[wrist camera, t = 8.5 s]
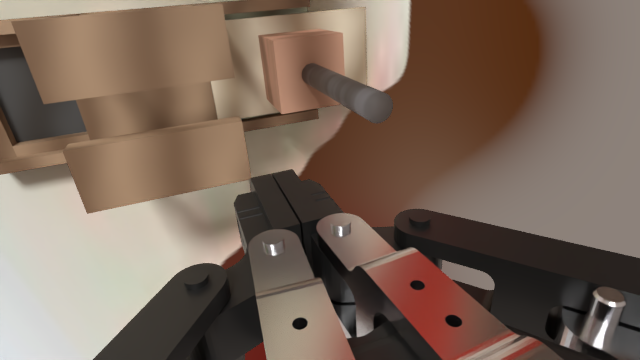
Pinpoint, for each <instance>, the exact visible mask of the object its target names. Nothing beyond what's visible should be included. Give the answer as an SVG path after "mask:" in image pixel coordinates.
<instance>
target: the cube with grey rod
mask: <svg viewBox="0 0 640 360" xmlns="http://www.w3.org/2000/svg"><path fill="white" fill-rule="evenodd" d="M225 22H226V28H227V34H228V40H229V46H230V52H231V58H232V64H233V70H234V76H235V78H231V79H224V80H217V81H210V83H211V88H212V93H213V98H214V103H215V108H216V113H217V118H218V119H223V118H229V117H235V116H239V117H240V119H241V118H247V117H253V116H259V115H265V114H271V113H277V112H280V113H281V114H286V113H292V112H298V111H304V110H310V109H316V108H322V107H328V106H334V105H340V104H342V105H343V106H345V107H347V108H348V109H350V110H352V111H354V112H355V113H357V114H359V115H360V116H362V117H364V118H365V119H367V120H369V121H370V122H372V123H381V122H383V121H385V120H386V119H387V118H388V117H389V116H390V114H391V112H392V109H393V102H392V99H391V97H390V96H389V95H388V94H386V93H384V92H381V91H379V90H377V89H374V88H372V87H369V86H367V60H366V7H357V8H347V9H336V10H326V11H315V12H305V13H295V14H284V15H274V16H263V17H253V18H242V19H232V20H225Z"/></svg>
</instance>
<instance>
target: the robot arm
mask: <svg viewBox="0 0 640 360" xmlns="http://www.w3.org/2000/svg"><path fill="white" fill-rule="evenodd" d="M250 188H251V192H250V193H245V194H241V195H238V196H237V198H236V200H235V202H234V207H235V212H236V217H237V222H238V227H239V233H240V238H241V242H242V246H243V249H244V252H245V256H244V257H243V258H242V259H241V260H240V261H239V262H238V263H236V264H235V265H234V266H232V267H230V268H228V269H226V270H224V269H223V268H222V267H221V266H219V265H217V264H212V263H203V264H197V265H193V266H190V267H188V268H186V269H184V270H182V271H180V272H179V273H177V274H176V275H175V276H174V277H173V278H172V279H171V280H170V281H169V282H168V283H167V284H166V285H165V286H164V287H163V288H162V289H161V290H160V291H159V292H158V293H157V294H156V295H155V296H154V297H153V298H152V299H151V300H150V301H149V302H148V304H147V305H146V306H145V307H144V308H143V309H142V310H141V311H140V312H139V313H138V314H137V315H136V316H135V317H134V318H133V319H132V320H131V321H130V322H129V323H128V324H127V325H126V326H125V327H124V328H123V329H122V330H121V331H120V332H119V333H118V334H117V335H116V336H115V337H114V338H113V340H112V341H111V342H110V343H109V344H108V345H107V346H106V347H105V348H104V349H103V350H102V351H101V352H100V353H99V354H98V355H97V356H96V357H95V358H94V359H93V360H245V353H247V352H248V351H250V350H251V349H253V348H254V347H256V346H257V345H259V344H260V343H262V342H263V341H264V346H265V352H266V358H267V360H640V258H636V257H632V256H627V255H623V254H618V253H614V252H610V251H605V250H601V249H596V248H592V247H587V246H583V245H579V244H574V243H570V242H565V241H561V240H557V239H552V238H548V237H543V236H539V235H535V234H531V233H526V232H522V231H517V230H513V229H508V228H504V227H499V226H495V225H491V224H486V223H482V222H478V221H473V220H469V219H465V218H460V217H455V216H451V215H447V214H442V213H438V212H433V211H429V210H424V209H410V210H406V211H403V212H400V213H399V214H398V215H397V216H396V217H395V219H394V227H370V226H369V225H368V224H367V223H366V222H365V221H363V220H362V219H361V218H360V217H358V216H356V215H352V214H347V213H343V211H342V210H341V209H340V208H339V207H338V205H337V204H336V203H335V202H334V200H333V199H332V198H330V196H329V194H328V193H327V192H326V191H325V190H324V188H323V187H322V186H321V185H320V184H318V183H316V182H314V181H312V180H310V179H309V180H304V181H301V180H300V179H299V178H298V176H297V175H296V174H295V172H294V171H293V170H292V169H291V170H286V171H282V172H277V173H272V174H268V175H263V176H258V177H253V178H250ZM442 260H446V261H449V262H452V263H456V264H460V265H463V266H466V267H470V268H473V269H477V270H480V271H483V272H485V273H487V274H488V275H490V276H491V277H492V279H493V280H494V283H495V288H494V290H484V289H481V288H478V287H474V286H472V285H468V284H465V283H462V282H459V281H455V280H452V279H450V278H449V277H448V276H447V275H446V274H445V273H443V272H442V271H441V269H442Z"/></svg>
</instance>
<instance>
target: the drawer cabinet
mask: <svg viewBox="0 0 640 360" xmlns="http://www.w3.org/2000/svg"><path fill="white" fill-rule="evenodd" d="M307 7H310V0H239V1H227V2H215V3H202V4H190V5H178V6H166V7H154V8H142V9H130V10H118V11H105V12H93V13H81V14H69V15H57V16H45V17H33V18H20V19H8V20H0V175H1V174H7V173H13V172H18V171H24V170H30V169H35V168H41V167H47V166H52V165H58V164H64V163H67V164H68V167H69V169H70V172H71V174H72V177H73V179H74V182H75V184H76V187H77V189H78V192H79V194H80V197H81V199H82V202H83V204H84V207H85V209H86V212H87V214H88V213H93V212H97V211H102V210H107V209H112V208H116V207H121V206H126V205H131V204H135V203H140V202H145V201H150V200H154V199H159V198H164V197H169V196H173V195H178V194H183V193H188V192H192V191H197V190H202V189H207V188H211V187H216V186H221V185H225V184H230V183H235V182H240V181H244V180H249V179H250V178H251V172H250V166H249V160H248V154H247V148H246V142H245V136H244V132H245V131H251V130H257V129H262V128H268V127H274V126H279V125H285V124H291V123H296V122H302V121H308V120H313V119H319V117H318V109H317V108H316V109H310V110H304V111H298V112H292V113H286V114H281V113H280V112H277V113H271V114H265V115H259V116H253V117H247V118H241V119H240V117H239V116H235V117H229V118H223V119H218V118H217V113H216V108H215V103H214V98H213V93H212V88H211V83H210V81H217V80H224V79H231V78H235V76H234V70H233V64H232V58H231V52H230V46H229V40H228V34H227V28H226V22H225V20H232V19H242V18H253V17H263V16H274V15H284V14H295V13H305V12H307Z"/></svg>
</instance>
